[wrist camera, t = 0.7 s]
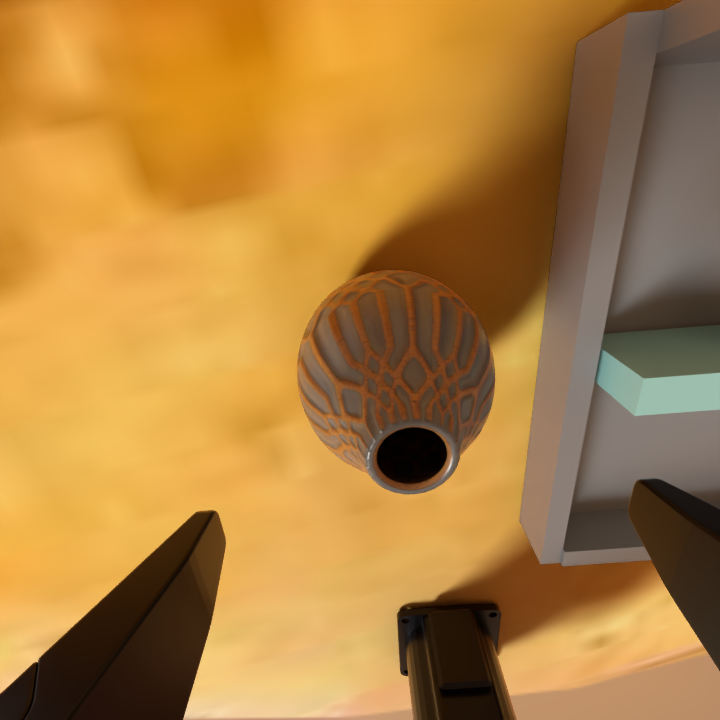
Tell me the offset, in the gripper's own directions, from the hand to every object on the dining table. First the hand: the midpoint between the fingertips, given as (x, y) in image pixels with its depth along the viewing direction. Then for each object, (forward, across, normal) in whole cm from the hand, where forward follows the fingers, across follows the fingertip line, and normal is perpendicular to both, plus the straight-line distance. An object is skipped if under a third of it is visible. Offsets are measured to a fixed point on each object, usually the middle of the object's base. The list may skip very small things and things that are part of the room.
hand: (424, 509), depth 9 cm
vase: (+10, 0, 0) cm, 11 cm away
